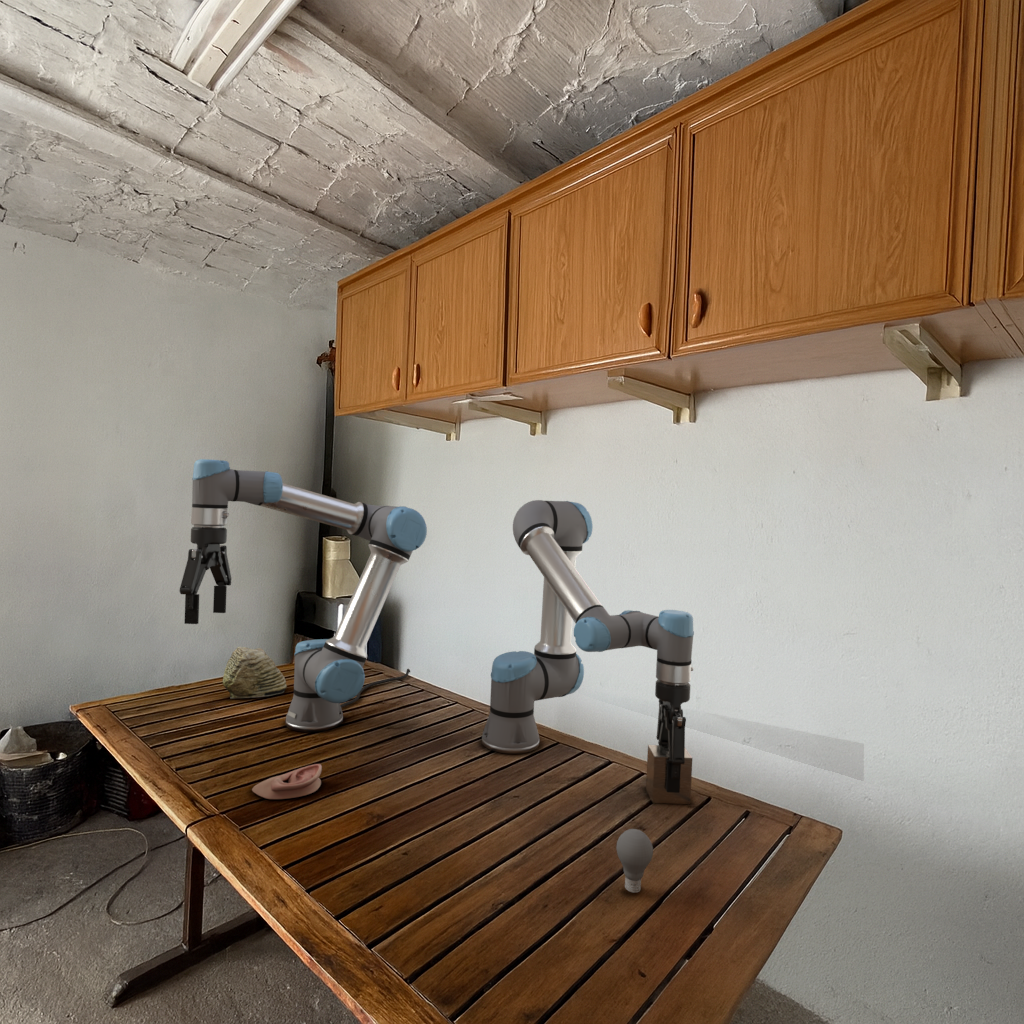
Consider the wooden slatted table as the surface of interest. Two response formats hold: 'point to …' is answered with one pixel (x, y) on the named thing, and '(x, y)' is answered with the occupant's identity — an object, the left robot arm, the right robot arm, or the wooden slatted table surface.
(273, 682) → the fossil
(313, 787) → the anatomical model
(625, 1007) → the wooden slatted table surface
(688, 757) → the block
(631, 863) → the light bulb
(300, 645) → the left robot arm
